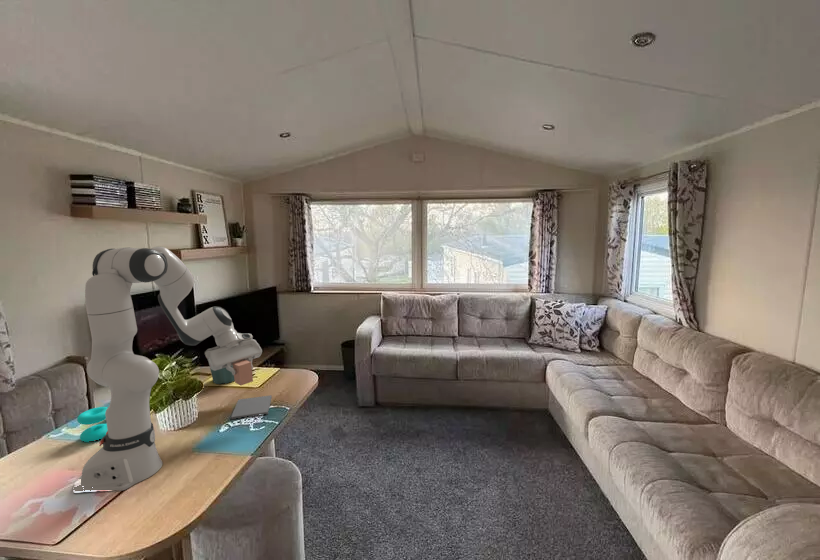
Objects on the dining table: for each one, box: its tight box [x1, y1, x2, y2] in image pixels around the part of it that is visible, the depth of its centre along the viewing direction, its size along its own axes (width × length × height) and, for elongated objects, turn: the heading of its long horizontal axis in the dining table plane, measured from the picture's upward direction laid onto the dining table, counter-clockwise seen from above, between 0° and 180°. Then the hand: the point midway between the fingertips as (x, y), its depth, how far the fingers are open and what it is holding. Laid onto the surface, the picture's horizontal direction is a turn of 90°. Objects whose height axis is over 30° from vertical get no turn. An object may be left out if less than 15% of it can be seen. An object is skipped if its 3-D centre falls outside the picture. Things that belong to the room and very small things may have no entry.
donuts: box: [77, 406, 109, 443], centre depth 145 cm, size 10×10×10 cm
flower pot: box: [209, 365, 235, 385], centre depth 198 cm, size 16×16×16 cm
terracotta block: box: [233, 360, 254, 386], centre depth 153 cm, size 5×5×8 cm
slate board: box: [230, 395, 273, 420], centre depth 166 cm, size 14×17×1 cm
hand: (243, 371), depth 153 cm, fingers closed on terracotta block, 5 cm apart
